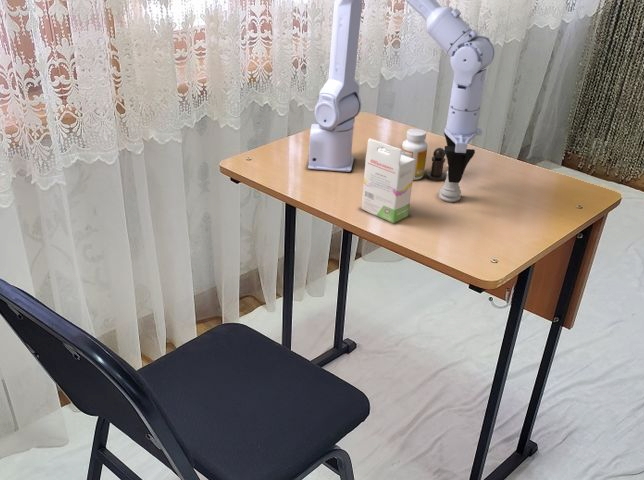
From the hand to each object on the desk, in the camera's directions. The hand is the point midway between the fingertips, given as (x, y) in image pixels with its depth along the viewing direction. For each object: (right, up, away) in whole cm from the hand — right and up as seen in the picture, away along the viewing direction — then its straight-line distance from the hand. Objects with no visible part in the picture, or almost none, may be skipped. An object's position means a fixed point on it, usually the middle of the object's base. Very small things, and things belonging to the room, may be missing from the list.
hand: (453, 174), depth 147 cm
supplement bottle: (-6, +2, +12) cm, 14 cm away
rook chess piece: (0, -4, +3) cm, 6 cm away
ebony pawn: (-1, +2, +11) cm, 12 cm away
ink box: (-14, -8, -2) cm, 17 cm away
